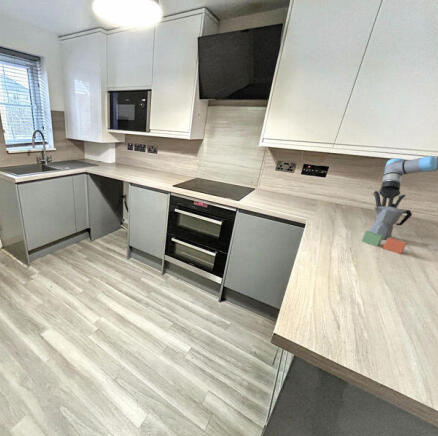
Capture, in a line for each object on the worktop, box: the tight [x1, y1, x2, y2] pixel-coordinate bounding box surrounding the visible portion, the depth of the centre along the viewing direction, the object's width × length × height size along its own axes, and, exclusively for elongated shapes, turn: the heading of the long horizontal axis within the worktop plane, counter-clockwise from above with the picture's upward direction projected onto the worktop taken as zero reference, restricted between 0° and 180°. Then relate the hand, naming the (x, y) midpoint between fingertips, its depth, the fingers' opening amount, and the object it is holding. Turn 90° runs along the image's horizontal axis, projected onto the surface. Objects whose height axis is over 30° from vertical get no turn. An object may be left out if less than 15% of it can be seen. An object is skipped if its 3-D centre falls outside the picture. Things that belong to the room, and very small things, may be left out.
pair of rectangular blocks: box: [361, 230, 408, 255], centre depth 110 cm, size 14×3×5 cm, turn 33°
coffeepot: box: [368, 202, 413, 241], centre depth 119 cm, size 15×9×18 cm, turn 72°
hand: (383, 219), depth 128 cm, fingers closed
